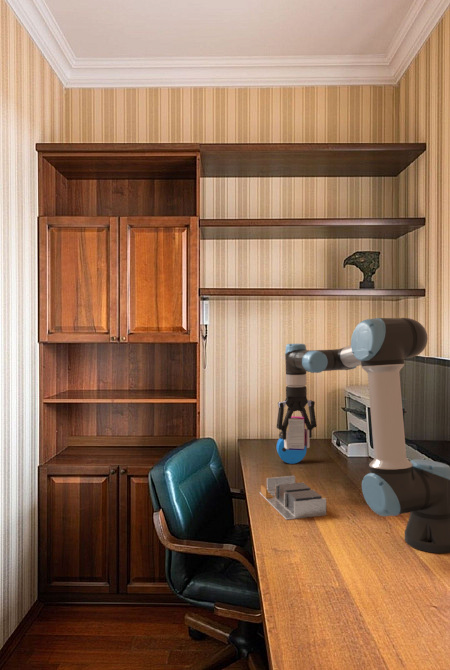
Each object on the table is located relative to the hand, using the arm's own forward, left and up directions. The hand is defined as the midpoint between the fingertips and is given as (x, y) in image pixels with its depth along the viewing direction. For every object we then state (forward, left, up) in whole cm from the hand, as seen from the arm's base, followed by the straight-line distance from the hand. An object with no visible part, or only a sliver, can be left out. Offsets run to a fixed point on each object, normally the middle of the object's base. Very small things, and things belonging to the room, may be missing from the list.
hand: (296, 447), depth 196 cm
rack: (-7, +5, -18) cm, 20 cm away
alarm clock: (+46, -15, -18) cm, 52 cm away
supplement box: (0, 0, -1) cm, 1 cm away
